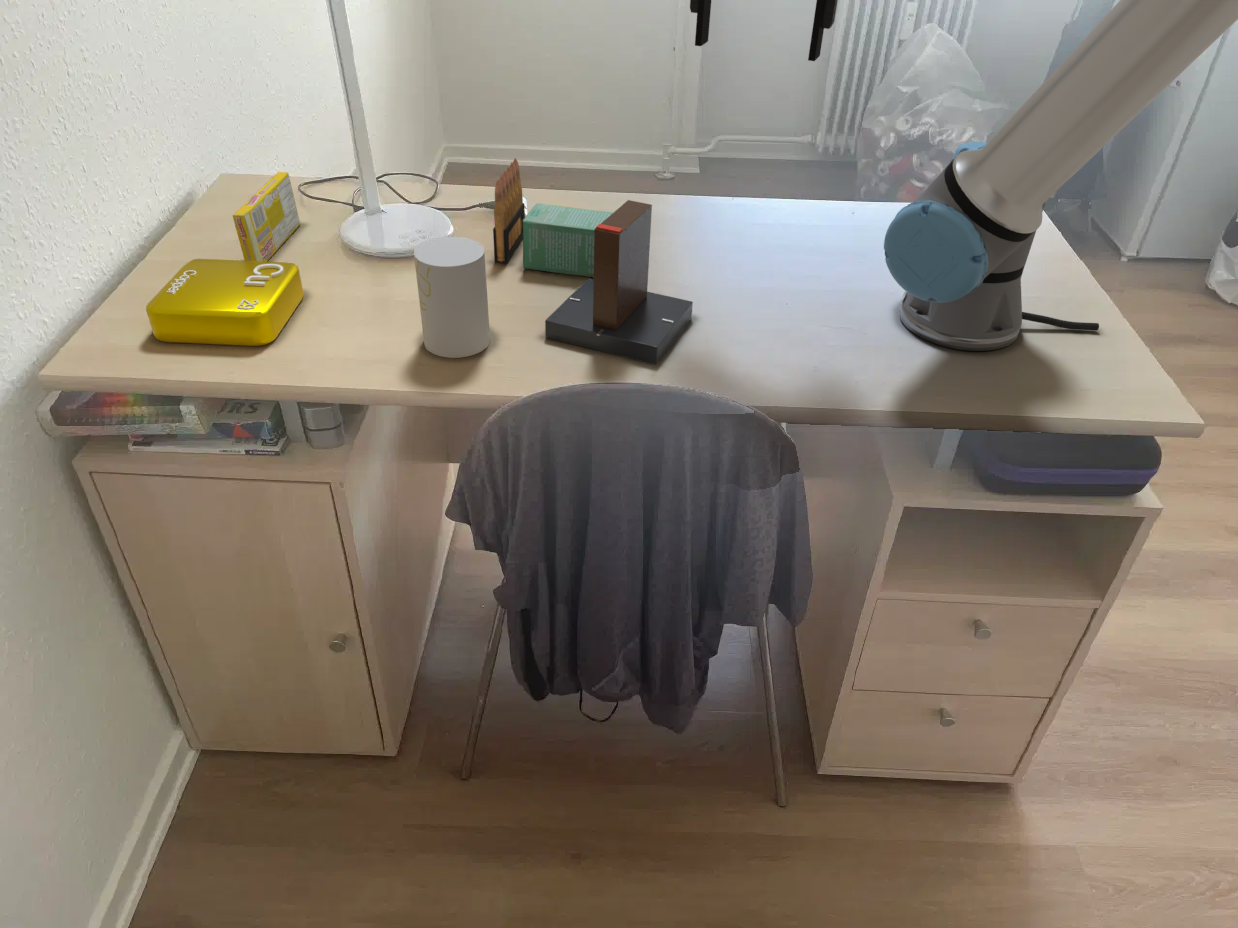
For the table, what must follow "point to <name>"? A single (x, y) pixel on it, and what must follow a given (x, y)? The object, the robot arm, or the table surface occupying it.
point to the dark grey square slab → (634, 338)
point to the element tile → (226, 302)
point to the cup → (453, 296)
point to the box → (560, 239)
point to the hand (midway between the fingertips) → (756, 51)
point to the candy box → (267, 219)
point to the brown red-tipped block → (621, 263)
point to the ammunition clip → (508, 214)
